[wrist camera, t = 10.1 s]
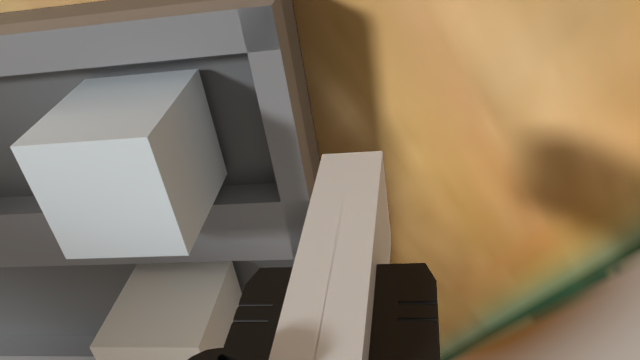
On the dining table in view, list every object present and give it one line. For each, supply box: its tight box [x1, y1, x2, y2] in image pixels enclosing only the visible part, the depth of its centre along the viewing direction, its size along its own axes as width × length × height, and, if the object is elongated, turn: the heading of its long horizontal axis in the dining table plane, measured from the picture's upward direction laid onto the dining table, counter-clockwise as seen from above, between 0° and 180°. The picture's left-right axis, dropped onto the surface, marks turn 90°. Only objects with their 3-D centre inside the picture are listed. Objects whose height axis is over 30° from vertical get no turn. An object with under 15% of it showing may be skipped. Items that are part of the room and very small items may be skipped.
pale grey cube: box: [10, 69, 227, 259], centre depth 18 cm, size 4×4×4 cm
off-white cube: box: [89, 261, 242, 360], centre depth 23 cm, size 4×4×4 cm
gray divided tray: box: [0, 0, 320, 360], centre depth 24 cm, size 20×16×3 cm
